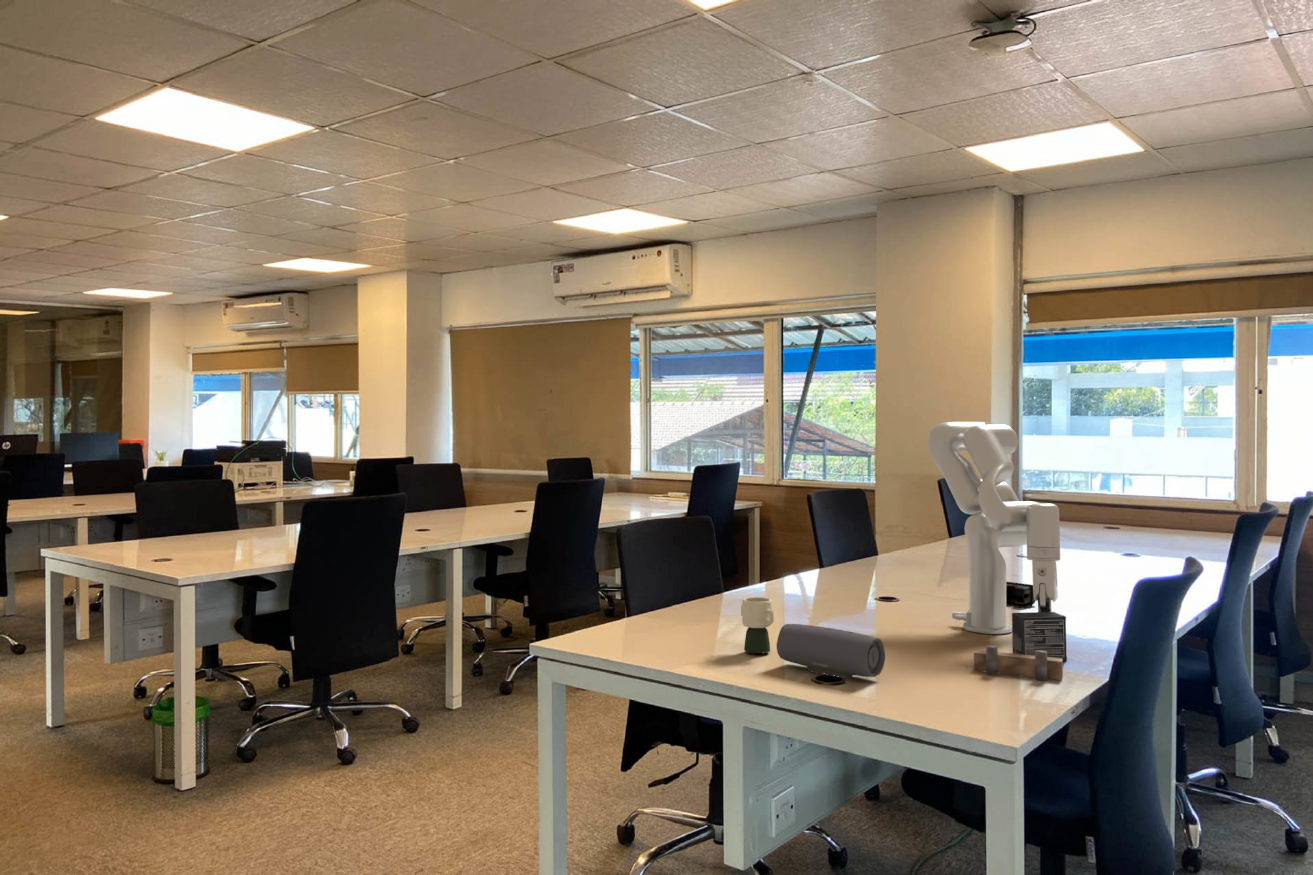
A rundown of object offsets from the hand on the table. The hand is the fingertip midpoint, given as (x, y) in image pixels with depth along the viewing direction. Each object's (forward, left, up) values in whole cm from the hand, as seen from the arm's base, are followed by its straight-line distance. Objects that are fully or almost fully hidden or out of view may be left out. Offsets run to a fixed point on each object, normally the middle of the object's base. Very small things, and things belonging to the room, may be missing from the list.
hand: (1045, 628), depth 222 cm
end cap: (-13, +58, -5) cm, 59 cm away
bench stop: (-4, -29, -5) cm, 29 cm away
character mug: (-62, -35, -5) cm, 71 cm away
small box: (-1, -10, -5) cm, 12 cm away
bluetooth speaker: (-41, -45, -5) cm, 61 cm away
